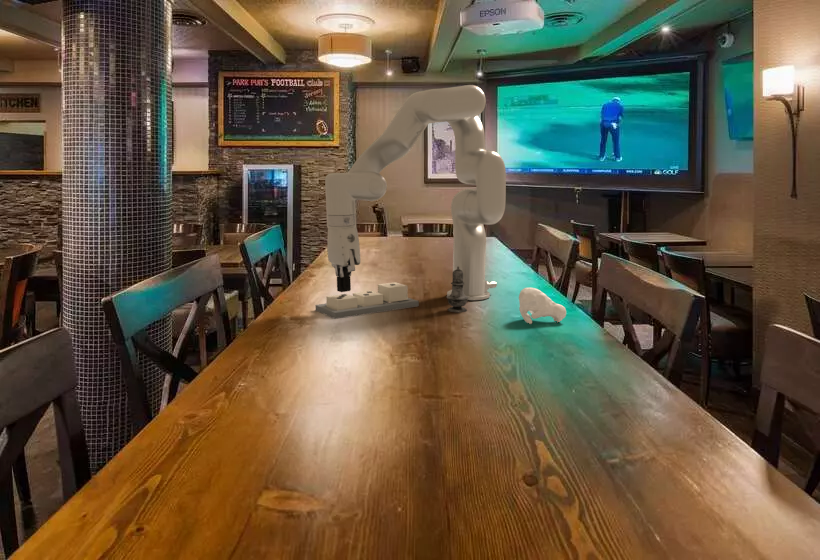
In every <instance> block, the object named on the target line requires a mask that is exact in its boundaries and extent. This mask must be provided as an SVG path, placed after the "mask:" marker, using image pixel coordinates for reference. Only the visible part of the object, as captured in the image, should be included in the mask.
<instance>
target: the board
mask: <svg viewBox="0 0 820 560" xmlns="http://www.w3.org/2000/svg"><path fill="white" fill-rule="evenodd" d="M419 302H420V301H419V300H417V299H414V298H410V297H408V300H403V301H396V302H387V301H384V300H383V304H380V305H373V306H366V307H362V306H360V305H357V306H358V308H351V309H344V310H337V311H336V310H334V309H331V308H329V307H327V304H326V303H319V304H314V305H315V311H316V312H317V313H318V312H319V313H320V314H324V315H325V316H328V317H331V318H332V319H341V318H348V317H354V316H355V317H357V316H362V315H363V316H364V315H368V314H376V313H382V312H383V313H384V312H390V311H396V310H402V309H403V310H404V309H409V308H414V307H415V308H416V307H419V305H420V304H419Z"/></svg>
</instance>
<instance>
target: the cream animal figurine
mask: <svg viewBox="0 0 820 560" xmlns="http://www.w3.org/2000/svg"><path fill="white" fill-rule="evenodd" d="M518 302H519V307H518V308H519V313H520V316H521V317H522V318H523V320H524V321H525V323H526V324H528V323H529V324H528V325H532V324H533V320H534V319H538V318H546V317H551V318H552V319H553V321H557V323H558V322H560V321H561V322H562V321H563V319H565V318H566V316H567V310H566V307H565V306H563V305H562V304H559V303H556V302H555V301H553V300H552V299H551V298H550V297H549V296H548V295H547V294H546V293H544V292H543V291H541V290H540V289H538V288H535V287H524V288H522V289H521V290H520V292H519V295H518ZM528 312H529V313H530V314H531V315H530V314H529V313H528ZM532 319H533V320H532ZM561 322H560V323H561Z"/></svg>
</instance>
